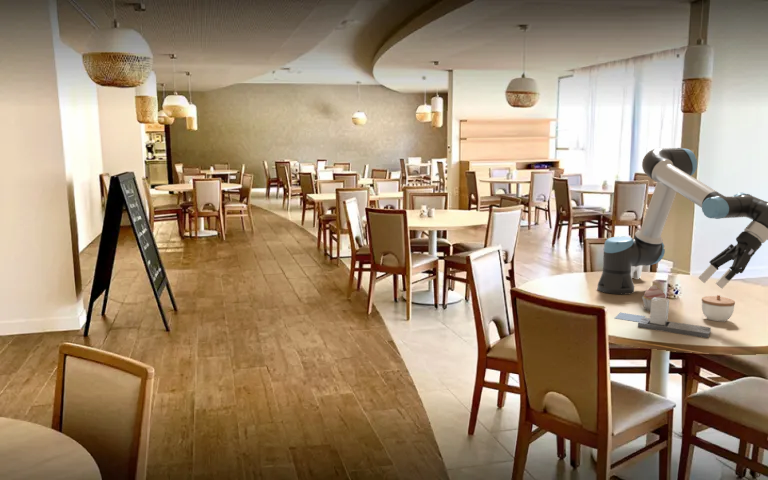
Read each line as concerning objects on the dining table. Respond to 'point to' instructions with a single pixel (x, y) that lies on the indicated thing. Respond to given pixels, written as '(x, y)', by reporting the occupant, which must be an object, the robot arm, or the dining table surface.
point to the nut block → (659, 311)
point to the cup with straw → (636, 271)
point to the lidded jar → (717, 308)
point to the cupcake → (652, 296)
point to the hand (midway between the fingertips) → (709, 283)
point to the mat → (629, 317)
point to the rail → (677, 328)
